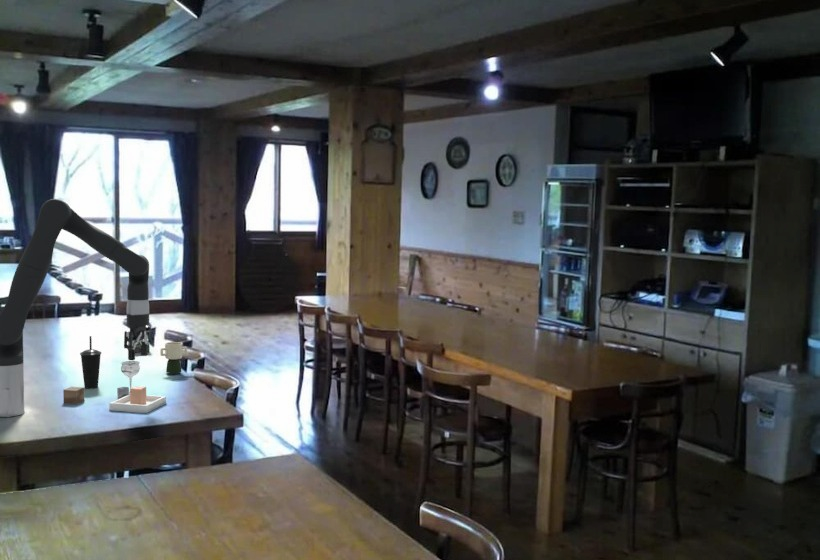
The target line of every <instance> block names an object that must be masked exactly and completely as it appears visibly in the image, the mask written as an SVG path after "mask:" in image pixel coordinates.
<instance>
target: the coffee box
mask: <svg viewBox="0 0 820 560" xmlns="http://www.w3.org/2000/svg"><path fill="white" fill-rule="evenodd" d="M148 326H150V324H149V325H148ZM147 337H148V336H147ZM132 346H133V344H132ZM150 348H151V347H150V343H149V344H148V345H147V353H148V352H150ZM134 350H135V352H137V353H141V343H140V341H139V342H138V344H136V347H135V349H134Z"/></svg>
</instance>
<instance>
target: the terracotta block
mask: <svg viewBox="0 0 820 560" xmlns="http://www.w3.org/2000/svg"><path fill="white" fill-rule="evenodd" d="M129 392H130V404H139V405H144V404H146V395H147V386H140V385H139V386H138V385H137V386H136V385H135V386H133V387H131V388H130V387H129Z"/></svg>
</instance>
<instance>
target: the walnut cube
mask: <svg viewBox="0 0 820 560" xmlns="http://www.w3.org/2000/svg"><path fill="white" fill-rule="evenodd" d="M62 393H63V404H67V405H68V404H69V405H78V404H81V403H83V402H85V387H84V386H70V387H67V388H65V389H63V391H62Z"/></svg>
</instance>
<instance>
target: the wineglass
mask: <svg viewBox="0 0 820 560" xmlns="http://www.w3.org/2000/svg"><path fill="white" fill-rule="evenodd" d="M120 364H121V367H120V372H121V373H122V374H123V375H124V376H127V378H129V389H130V388H132V379H133V377H134V376H136V375H137V374H138V373H139V372H140V369H141V366H140V361H137V360H128V361H122V362H121V363H120ZM129 394H130V391H129Z"/></svg>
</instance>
